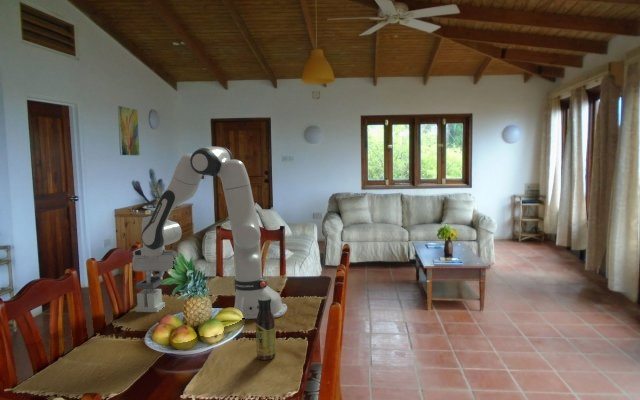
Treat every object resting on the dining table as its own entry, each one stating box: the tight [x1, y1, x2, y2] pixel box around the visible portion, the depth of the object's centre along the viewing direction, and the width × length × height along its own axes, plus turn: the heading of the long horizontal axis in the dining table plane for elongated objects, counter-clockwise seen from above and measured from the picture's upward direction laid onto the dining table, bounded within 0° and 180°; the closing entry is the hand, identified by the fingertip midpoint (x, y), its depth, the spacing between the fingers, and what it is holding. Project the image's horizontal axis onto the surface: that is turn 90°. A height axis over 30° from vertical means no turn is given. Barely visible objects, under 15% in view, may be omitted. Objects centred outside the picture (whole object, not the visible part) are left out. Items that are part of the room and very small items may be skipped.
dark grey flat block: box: [134, 273, 163, 290], centre depth 198 cm, size 8×13×3 cm, turn 171°
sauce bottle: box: [255, 296, 277, 361], centre depth 146 cm, size 7×6×20 cm
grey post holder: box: [134, 271, 166, 313], centre depth 196 cm, size 10×7×17 cm
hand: (156, 280), depth 202 cm, fingers closed on dark grey flat block, 2 cm apart
